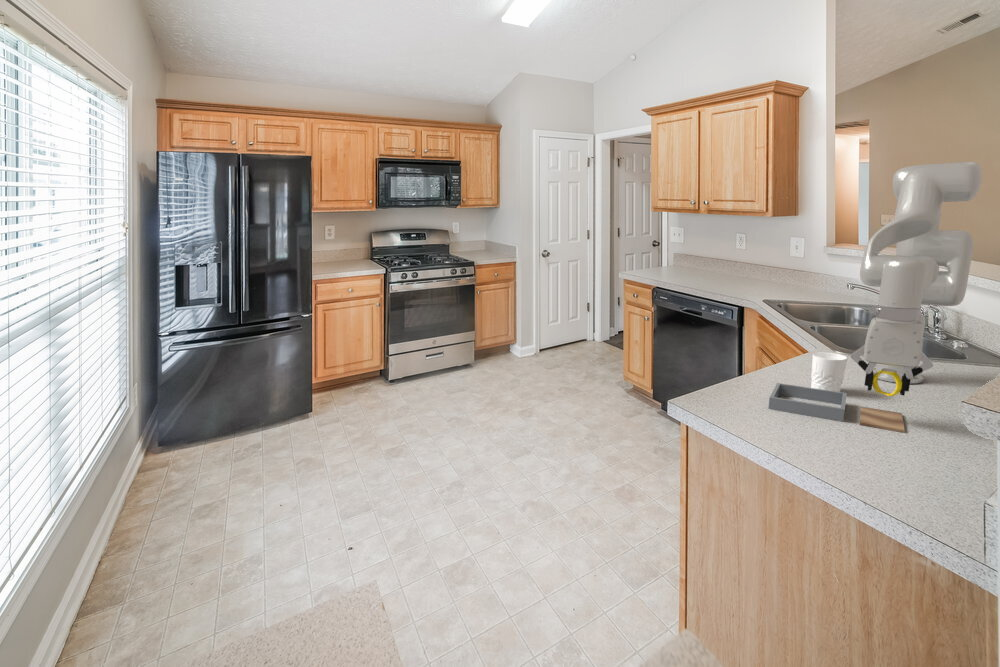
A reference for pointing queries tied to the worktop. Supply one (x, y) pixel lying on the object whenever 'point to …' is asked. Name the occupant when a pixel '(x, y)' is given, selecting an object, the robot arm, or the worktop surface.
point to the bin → (805, 407)
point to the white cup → (828, 371)
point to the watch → (896, 377)
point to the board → (881, 419)
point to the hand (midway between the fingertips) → (885, 390)
